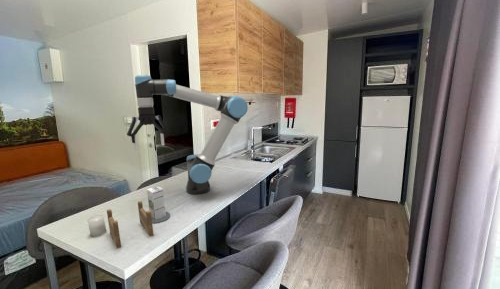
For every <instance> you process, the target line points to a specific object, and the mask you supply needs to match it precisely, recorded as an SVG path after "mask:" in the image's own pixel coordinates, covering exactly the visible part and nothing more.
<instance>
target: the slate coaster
mask: <svg viewBox="0 0 500 289" xmlns="http://www.w3.org/2000/svg"><path fill="white" fill-rule="evenodd" d="M165 212H166V216H164V217H162V218H160V219H157V220H155V219H153V218H152V225H155V224H160V223H163V222H166V221H168V220H169V219H170V218H171V214H170V213H171V212H169V211H166V210H165Z"/></svg>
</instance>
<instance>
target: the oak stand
mask: <svg viewBox="0 0 500 289" xmlns="http://www.w3.org/2000/svg"><path fill="white" fill-rule="evenodd" d="M137 206H138V207H137V208H138V216H139V224H140V225H141V227H142V228H143V230H144V231H145V232H146V234H147V235H148V236H149V237H153V236H154V228H153V223H152V217H151V211H150V210H145V209H144V205H143V201H142V200H138V201H137ZM106 214H107V220H108V221H107V222H108V229H109V234H110V236H111V239H112V241H113V243H114V245H115V247H116V249H119V248H122V243H121V235H120V228H119V221H118V220H115V218H114V217H113V211H112V209H111V208H109V209H106Z"/></svg>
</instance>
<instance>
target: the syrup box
mask: <svg viewBox="0 0 500 289" xmlns="http://www.w3.org/2000/svg"><path fill="white" fill-rule="evenodd" d="M146 192H147V200H148V209H149V210H150V211H151V217H152V218H153V219H155V220H157V219H160V218H162V217H164V216H166V212H165V211H166V206H165V195H164V188H162V187H160V186H157V185H156V186H153V187H150V188H147V189H146ZM149 210H148V211H149Z"/></svg>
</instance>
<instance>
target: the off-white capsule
mask: <svg viewBox="0 0 500 289" xmlns="http://www.w3.org/2000/svg"><path fill="white" fill-rule="evenodd" d="M87 225H88V229H89V234H90V236H91V237H94V238H96V237H101V236H102V235H104V234H106V232H107V226H106V221H105V216H104V214H95V215H93V216H91V217H89V218H88V219H87Z"/></svg>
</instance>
